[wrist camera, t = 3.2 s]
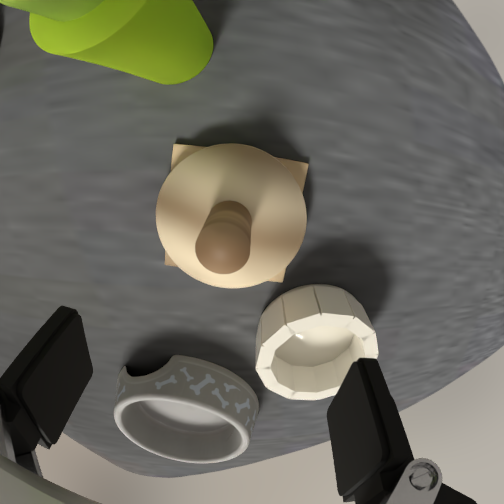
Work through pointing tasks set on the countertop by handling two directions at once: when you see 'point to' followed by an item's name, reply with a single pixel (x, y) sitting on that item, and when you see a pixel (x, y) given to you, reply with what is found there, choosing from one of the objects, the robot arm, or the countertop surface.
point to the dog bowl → (187, 411)
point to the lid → (231, 215)
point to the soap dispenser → (124, 35)
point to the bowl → (312, 341)
